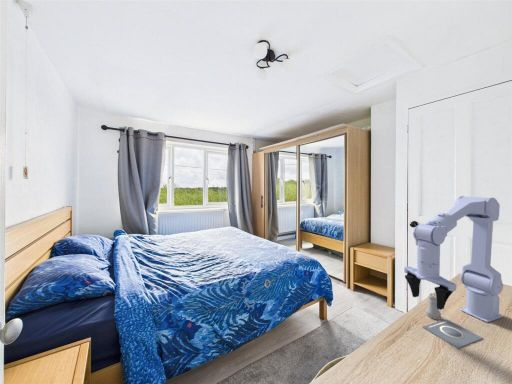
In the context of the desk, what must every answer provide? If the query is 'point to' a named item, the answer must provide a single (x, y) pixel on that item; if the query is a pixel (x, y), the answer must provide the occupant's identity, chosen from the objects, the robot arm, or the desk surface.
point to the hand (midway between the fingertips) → (427, 302)
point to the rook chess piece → (433, 307)
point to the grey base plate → (452, 333)
